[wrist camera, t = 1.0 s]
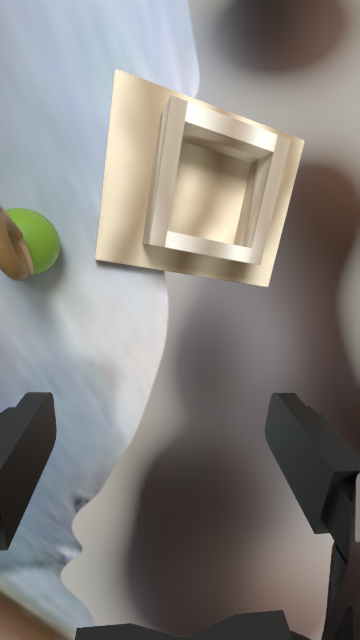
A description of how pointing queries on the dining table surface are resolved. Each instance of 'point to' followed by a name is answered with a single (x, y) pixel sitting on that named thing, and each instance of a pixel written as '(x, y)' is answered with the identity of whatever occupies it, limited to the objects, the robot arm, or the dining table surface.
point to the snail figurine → (26, 243)
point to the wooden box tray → (192, 186)
